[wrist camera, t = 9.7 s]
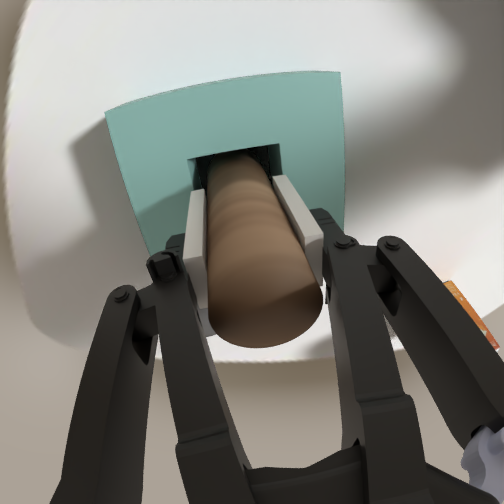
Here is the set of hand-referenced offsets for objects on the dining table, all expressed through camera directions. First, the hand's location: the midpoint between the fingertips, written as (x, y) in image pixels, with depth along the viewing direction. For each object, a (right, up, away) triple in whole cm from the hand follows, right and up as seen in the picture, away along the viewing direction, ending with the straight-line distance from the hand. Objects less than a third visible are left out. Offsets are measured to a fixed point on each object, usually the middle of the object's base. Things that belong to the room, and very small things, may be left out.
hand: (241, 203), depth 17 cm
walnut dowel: (-1, +3, +4) cm, 5 cm away
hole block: (-1, +4, +5) cm, 7 cm away
